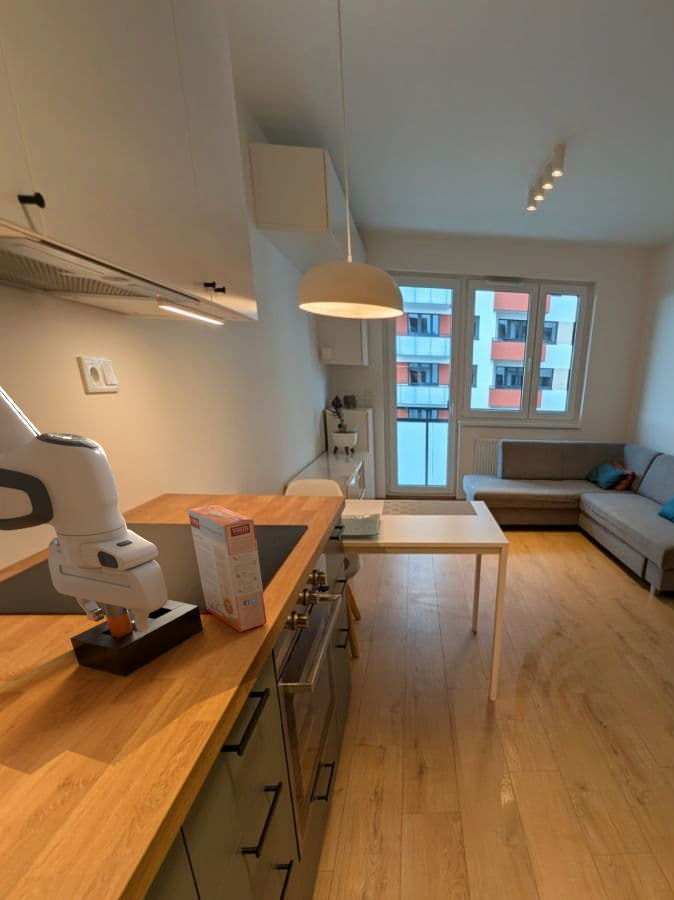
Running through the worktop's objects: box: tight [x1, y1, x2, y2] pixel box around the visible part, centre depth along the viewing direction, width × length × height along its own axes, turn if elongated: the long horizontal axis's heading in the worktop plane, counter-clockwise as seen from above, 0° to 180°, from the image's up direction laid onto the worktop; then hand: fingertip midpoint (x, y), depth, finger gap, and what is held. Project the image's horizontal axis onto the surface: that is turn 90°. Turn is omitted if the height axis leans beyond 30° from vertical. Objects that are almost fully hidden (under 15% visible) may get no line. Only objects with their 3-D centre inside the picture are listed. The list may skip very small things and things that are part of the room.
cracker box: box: [187, 504, 268, 633], centre depth 95 cm, size 14×6×21 cm, turn 48°
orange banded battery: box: [102, 603, 133, 638], centre depth 83 cm, size 3×3×14 cm
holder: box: [69, 599, 204, 678], centre depth 88 cm, size 10×17×5 cm, turn 162°
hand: (118, 624), depth 83 cm, fingers open, 8 cm apart
